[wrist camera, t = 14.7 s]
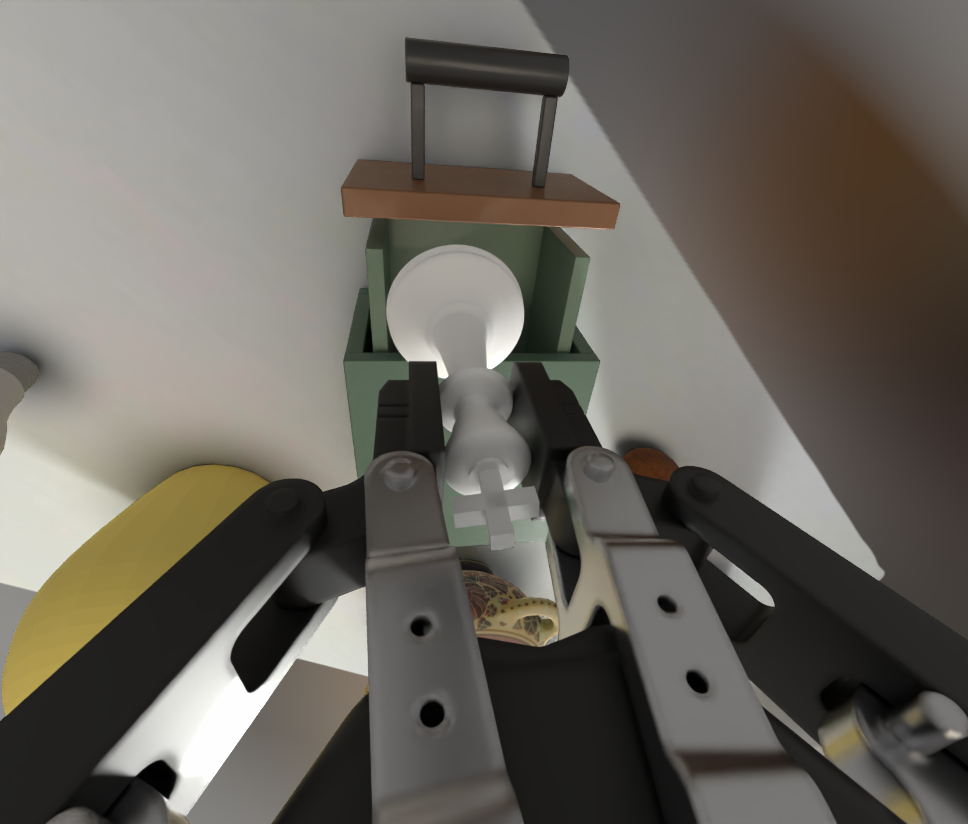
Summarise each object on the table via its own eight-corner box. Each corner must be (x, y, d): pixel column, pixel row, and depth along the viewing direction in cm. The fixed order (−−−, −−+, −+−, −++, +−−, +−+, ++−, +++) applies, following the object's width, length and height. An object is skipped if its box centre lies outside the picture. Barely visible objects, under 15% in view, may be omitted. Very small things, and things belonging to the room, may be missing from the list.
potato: (644, 508, 49) (671, 558, 44) (587, 457, 43) (611, 509, 38) (692, 478, 47) (727, 527, 42) (640, 421, 41) (672, 470, 36)
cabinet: (359, 287, 30) (343, 360, 23) (554, 293, 33) (600, 361, 25) (374, 459, 40) (366, 552, 32) (525, 454, 42) (552, 540, 34)
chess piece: (373, 251, 14) (333, 462, 7) (523, 237, 15) (655, 422, 7) (398, 378, 17) (391, 629, 10) (522, 364, 18) (614, 594, 10)
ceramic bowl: (510, 487, 48) (519, 598, 35) (588, 588, 54) (622, 716, 41) (340, 580, 54) (290, 706, 41) (427, 662, 60) (410, 795, 47)
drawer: (347, 37, 22) (323, 22, 16) (591, 64, 24) (656, 60, 18) (374, 379, 34) (366, 448, 27) (536, 378, 36) (563, 442, 29)
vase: (73, 490, 37) (-416, 1100, 15) (224, 406, 34) (-104, 1004, 12) (225, 578, 47) (61, 1032, 25) (353, 518, 44) (299, 969, 22)
